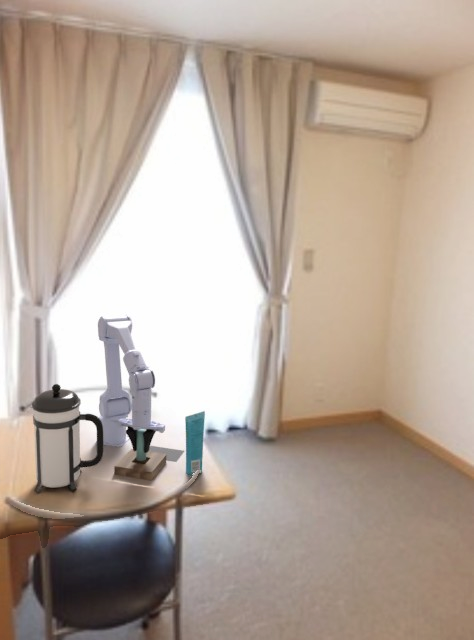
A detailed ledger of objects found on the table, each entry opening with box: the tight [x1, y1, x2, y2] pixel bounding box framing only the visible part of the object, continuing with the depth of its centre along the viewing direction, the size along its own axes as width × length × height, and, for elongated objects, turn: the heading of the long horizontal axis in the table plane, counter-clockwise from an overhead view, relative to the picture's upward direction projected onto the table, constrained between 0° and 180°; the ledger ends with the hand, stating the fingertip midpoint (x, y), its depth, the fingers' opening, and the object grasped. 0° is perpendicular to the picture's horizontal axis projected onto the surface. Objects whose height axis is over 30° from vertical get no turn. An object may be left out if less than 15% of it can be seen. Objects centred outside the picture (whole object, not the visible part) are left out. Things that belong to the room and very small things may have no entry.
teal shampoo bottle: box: [185, 410, 206, 476], centre depth 154 cm, size 7×5×19 cm, turn 140°
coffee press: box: [27, 383, 104, 494], centre depth 144 cm, size 17×16×30 cm
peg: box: [136, 429, 146, 461], centre depth 155 cm, size 3×3×9 cm
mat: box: [149, 445, 185, 463], centre depth 166 cm, size 12×8×1 cm, turn 77°
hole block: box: [113, 448, 167, 481], centre depth 156 cm, size 12×12×3 cm
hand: (141, 450), depth 155 cm, fingers closed on peg, 3 cm apart
